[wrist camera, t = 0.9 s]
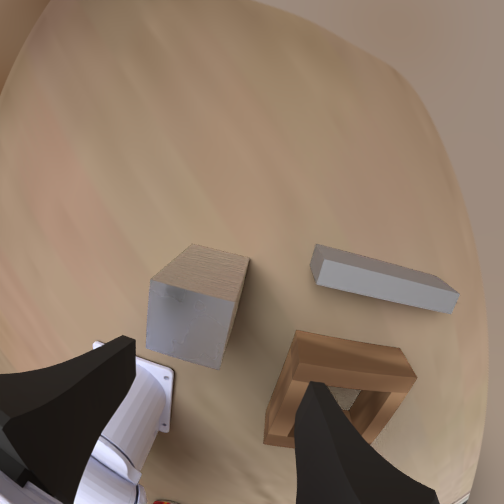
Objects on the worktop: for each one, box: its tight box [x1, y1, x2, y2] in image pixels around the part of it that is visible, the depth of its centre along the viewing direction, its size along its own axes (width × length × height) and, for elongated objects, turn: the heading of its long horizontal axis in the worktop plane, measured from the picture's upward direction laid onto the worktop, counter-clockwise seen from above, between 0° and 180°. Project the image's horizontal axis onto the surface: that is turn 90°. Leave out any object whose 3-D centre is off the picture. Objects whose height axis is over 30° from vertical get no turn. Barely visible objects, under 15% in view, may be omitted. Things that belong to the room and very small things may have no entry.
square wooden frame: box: [263, 330, 417, 448], centre depth 20 cm, size 9×9×4 cm
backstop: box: [310, 244, 460, 314], centre depth 17 cm, size 2×10×4 cm, turn 77°
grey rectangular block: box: [146, 244, 250, 370], centre depth 16 cm, size 4×4×7 cm
